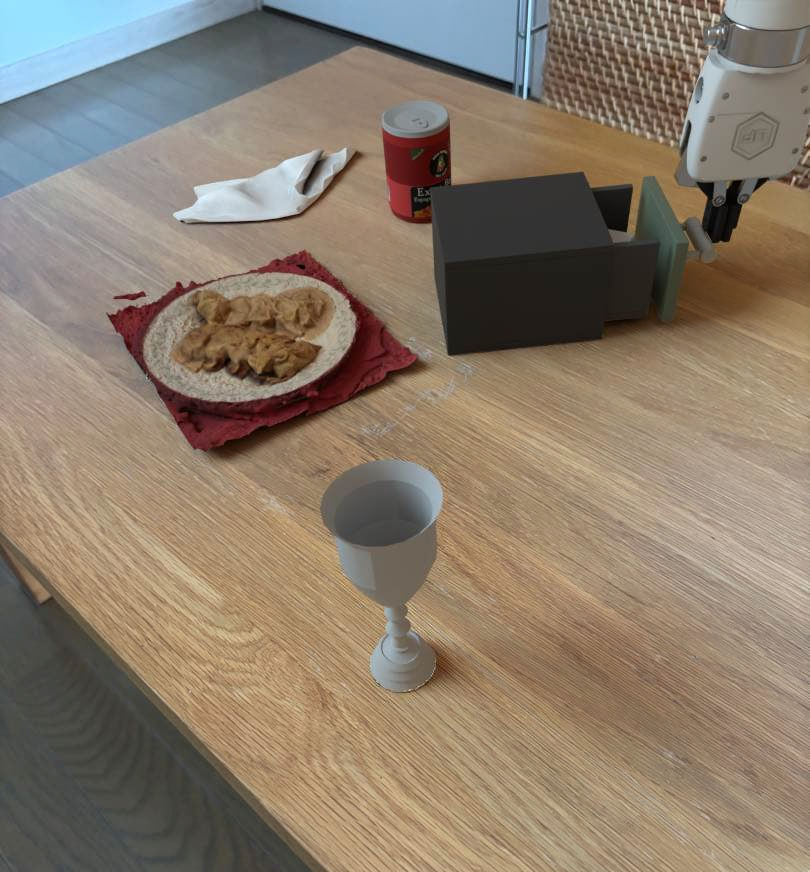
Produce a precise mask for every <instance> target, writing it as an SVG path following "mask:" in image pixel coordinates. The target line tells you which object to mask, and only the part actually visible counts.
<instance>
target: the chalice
mask: <svg viewBox="0 0 810 872" xmlns="http://www.w3.org/2000/svg"><path fill="white" fill-rule="evenodd" d="M443 499H444V491H443V489H442V486H441V484H440V481H439V479H438V478H437V477H436V476H435V475H434V474H433V473H432V472H431V471H430V470H429V469H427V468H425V467H424V466H422V465H419V464H417V463H415V462H413V461H409V460H408V461H407V460H403V459H397V458H392V459H375V460H371V461H367V462H363V463H359V464H357V465H356V466H353V467H351V468H349V469H347V470H345V471H344V472H342V473H341V474H339V476H337V477H336V478H335V479H334V480H332V481H331V482H330V484H329V485H328V487H327V488H326V490H325V491H324V492H323V494H322V497H321V501H320V502H321V503H320V506H319V511H320V516H321V520H322V524H323V525H324V526H325V527H326V528H327V529H328V531H329V532H330V533H331V534H332V536H334V540H335V545H336V550H337V555H338V559H339V563H340V568H341V571H342V572H343V574H344V575H345V576H346V577H347V579H348V580H349V581H350V582H351V583H352V584H353V585H354V586H355V588H356V589H357V590H358V591H359V592H360V593H361V594H363V595H364V596H365V597H367V598H369V599H370V600H372V601H373V602H375V603H376V604H378V605H380V606H381V607H384V609H383V610H384V611H383V614H384V616H385V618H386V619H387V622H386V623H385V627H384V628H385V629H384V630H385V634H384V635H383V636H382V637H381V638H380V639H379V641H378V642H377V643H376V646H375V648H373V650H374V651H373V650H372V652H373V653H372V652H371V654H372V655H371V654H370V656H371V657H370V656H369V661H370V666H369V665H368V668H369V667H370V669H371V670H370V669H369V672H370V671H371V673H372V676H373V677H374V679H376V682H377V683H380V685H381V686H383V687H385V688H386V689H390V690H392V691H398V692H402V691H404V690H409V689H416V688H417V687H418V686H419V685H422V684H423V683H426V680H428V679H429V678H430V677H431V675H432V673H433V670H434V668H435V663H436V662H435V661H436V660H435V659H436V658H437V657H436V658H435V655H436V653H435V654H434V652H435V649H434V648H433V647H432V646H431V644H430V643H429V642H428V641H427V640H425V638H424V637H422V636H421V635H420V634H419V633H418V632H416V631H414V630H412V629H411V628H412V624H411V621H410V620H409V619H408V618H407V615H408V614H409V608H408V605H406V604H407V603H409V601H411V600H412V598H413V597H414V596H415V595H416V594H417V593H418V591H419V590H420V589H421V587H422V586H423V585H424V583H425V582H426V580H427V579H428V576H429V574H430V573H431V570H432V568H433V566H434V564H435V562H436V560H437V555H438V535H437V531H438V530H437V517H438V515H439V514H440V512H441V510H442V508H443V502H444V500H443ZM427 642H428V643H429V644H430V645H429V644H428V643H427ZM431 647H432V648H433V649H434V650H433V649H432V648H431ZM371 673H370V674H371ZM372 676H371V677H372ZM374 679H373V680H374ZM376 682H375V683H376ZM377 683H376V684H377ZM380 685H379V686H380ZM381 686H380V687H381ZM392 691H391V692H392Z"/></svg>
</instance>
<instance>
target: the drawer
mask: <svg viewBox="0 0 810 872" xmlns="http://www.w3.org/2000/svg"><path fill="white" fill-rule="evenodd" d="M590 188H591V190H592V193H593V195H594V198H595V200H596V202H597V205H598V207H599V209H600V212H601V214H602V216H603V219H604V221H605V224H606V226H607V228H608V229H610V230H615V231H621V232H626V233H628V227H629V220H630V213H631V206H632V200H633V191H634V186H633V184H632V183H625V184H624V183H623V184H615V185H606V186H595V187H590ZM635 222H636V223H635V229H634V235H635V241H628V242H618V243H614V245H615V246H614V252H613V260H612V268H611V275H610V283H609V290H608V298H607V305H606V313H605V321H604V322H610V321H611V322H612V321H620V320H632V319H640V318H647V317H648V314H649V310H650V309H649V308H650V303H651V301H652V304H653V305H654V308H655V310H656V313H657V314H658V316H659V317H658V318H659V319H660V321H661V323H665V322H674V319H675V316H676V315H675V314H676V310H677V304H678V301H679V294H680V290H681V287H682V286H681V285H682V280H683V276H684V271H685V266H686V261H687V260H695V259H699V260H700V262H702V263H703V264H704V263H705V264H708V263H711V262H713V261H715V259H716V257H717V255H718V253H717V252H718V251H717V250H716V248H715V246H714V243H712V242H711V240H710V238H709V236H708V234H707V232H705V231H704V230H703V228H702V222H701V221H700V219H699V218H698V217H697V216H690V217H687V218H686V219H685V220H684V222H680V221H679V218H678V217H677V216H676V214H675V211H674V210H673V208H672V206H671V204H670V203H669V200H668V199H667V197H666V194H665V193H664V191H663V189H662V186H660V183H659V181H658V179H657V178H656V176H655V175H649V176H642V181H641V188H640V195H639V202H638V208H637V215H636V220H635ZM690 242H691V244H692V246H693V249H694V250H689V246H690Z"/></svg>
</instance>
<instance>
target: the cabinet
mask: <svg viewBox="0 0 810 872" xmlns="http://www.w3.org/2000/svg"><path fill="white" fill-rule="evenodd" d="M591 188H592V187H591V186H590V183H589V182H588V178H587V177H586V174H585V172H584V171H576V172H575V171H574V172H566V173H565V172H564V173H557V174H548V175H537V176H536V175H535V176H527V177H519V178H507V179H500V180H498V179H497V180H490V181H479V182H471V183H470V182H469V183H460V184H451V185H450V186H441V187H431V188H430V194H431V214H432V221H431V232H432V234H431V235H432V251H433V253H432V254H433V273H434V275H433V276H434V282H435V283H434V284H435V289H436V295H437V300H438V305H439V306H438V307H439V312H440V318H441V324H442V331H443V335H444V341H445V347H446V352H447V356H455V355H463V354H473V353H483V352H493V351H502V350H503V351H504V350H512V349H513V350H514V349H521V348H522V349H523V348H531V347H542V346H549V345H551V346H552V345H559V344H569V343H578V342H579V343H580V342H589V341H599V340H602V339H603V336H604V335H603V334H604V328H605V327H604V326H605V322H606V321H605V313H606V305H607V298H608V290H609V283H610V275H611V268H612V260H613V252H614V246H615V245H614V242H613V240H612V238H611V235H610V233H609V231H608V228H607V226H606V224H605V221H604V219H603V216H602V214H601V212H600V209H599V207H598V205H597V202H596V200H595V198H594V195H593V193H592V190H591Z"/></svg>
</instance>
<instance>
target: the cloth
mask: <svg viewBox="0 0 810 872" xmlns="http://www.w3.org/2000/svg"><path fill="white" fill-rule="evenodd" d="M357 151H358V150H357V148H354V147H351V146H346V147H343V149H341V150H340V151H338V152H334V153H330V154H327V155H323V153H324V152H325V149H324V147H321V148H316V149H314V150H311V151H309V152H308V153H305V154H301V155H297V156H295V157H291V158H288V159H285V160H283V161H282V162H281V163H280V164H278V165H277V166H276V167H271V168H268V169H265V170H263V171H261V172H260V173H258V174H257V175H254V176H250V177H245V178H238V179H237V178H236V179H230V180H229V179H228V180H221V181H216V182H211V183H205V184H201V185H197V186H194V187H193V191H194V193H195V196H196V198H197V200H196V201H195V202H194V204H193V205H192V206H189V207H186V208H184V209H181V210H177V211H176V212H173V214H172V216H173V217H174V218H175V219H176V220H177V221H179V222H181V221H182V222H184V223H186V224H193V223H229V222H231V223H232V222H248V221H251V222H252V221H265V220H266V221H267V220H272V219H280V218H284V217H290V216H294V215H299V214H301V213H303V212H304V211H305V210H306V209H307V208H309V206H311V205H312V204H313V203H314V202H316V200H318V198H319V197H320V196H322V193H324V191H325V190H326V189H327V187H328V186H329V185H330V184H331V182H332V181H333V179H334V178H335V177H336V176H337V174H339V173H340V172H341V171H342V170H343V169H344V168H345V166H346V165H347V164H348V162H349V161H350V160H351V159H352V157H353V156H354V155H355V154H356V152H357Z"/></svg>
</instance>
